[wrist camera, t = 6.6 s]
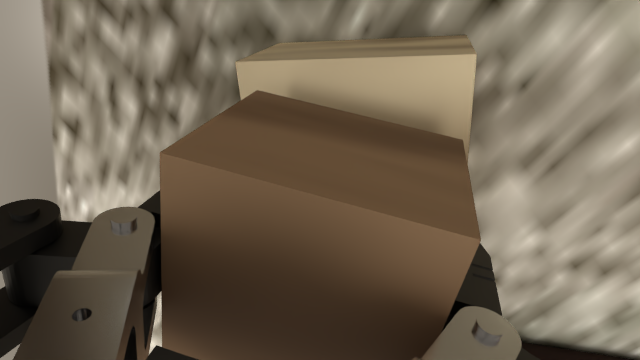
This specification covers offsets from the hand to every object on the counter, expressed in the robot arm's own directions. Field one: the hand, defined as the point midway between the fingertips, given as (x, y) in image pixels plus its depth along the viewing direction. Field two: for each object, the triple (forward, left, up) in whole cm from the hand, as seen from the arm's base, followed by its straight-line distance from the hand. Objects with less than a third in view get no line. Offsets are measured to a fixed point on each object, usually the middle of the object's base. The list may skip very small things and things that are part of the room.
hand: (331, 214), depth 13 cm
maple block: (0, 0, -8) cm, 8 cm away
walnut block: (0, 0, -1) cm, 1 cm away
